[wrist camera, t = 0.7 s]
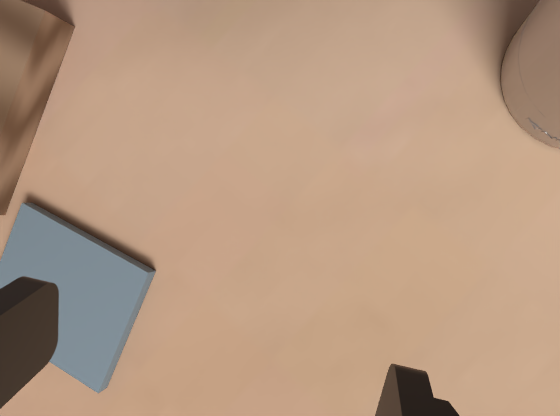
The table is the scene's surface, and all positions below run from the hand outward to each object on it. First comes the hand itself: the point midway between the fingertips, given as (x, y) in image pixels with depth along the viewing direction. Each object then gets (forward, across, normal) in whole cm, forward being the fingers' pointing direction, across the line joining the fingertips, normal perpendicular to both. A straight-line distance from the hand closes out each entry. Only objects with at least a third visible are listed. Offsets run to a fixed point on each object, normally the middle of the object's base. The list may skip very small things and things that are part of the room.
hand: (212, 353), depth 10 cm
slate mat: (+20, +16, +13) cm, 29 cm away
